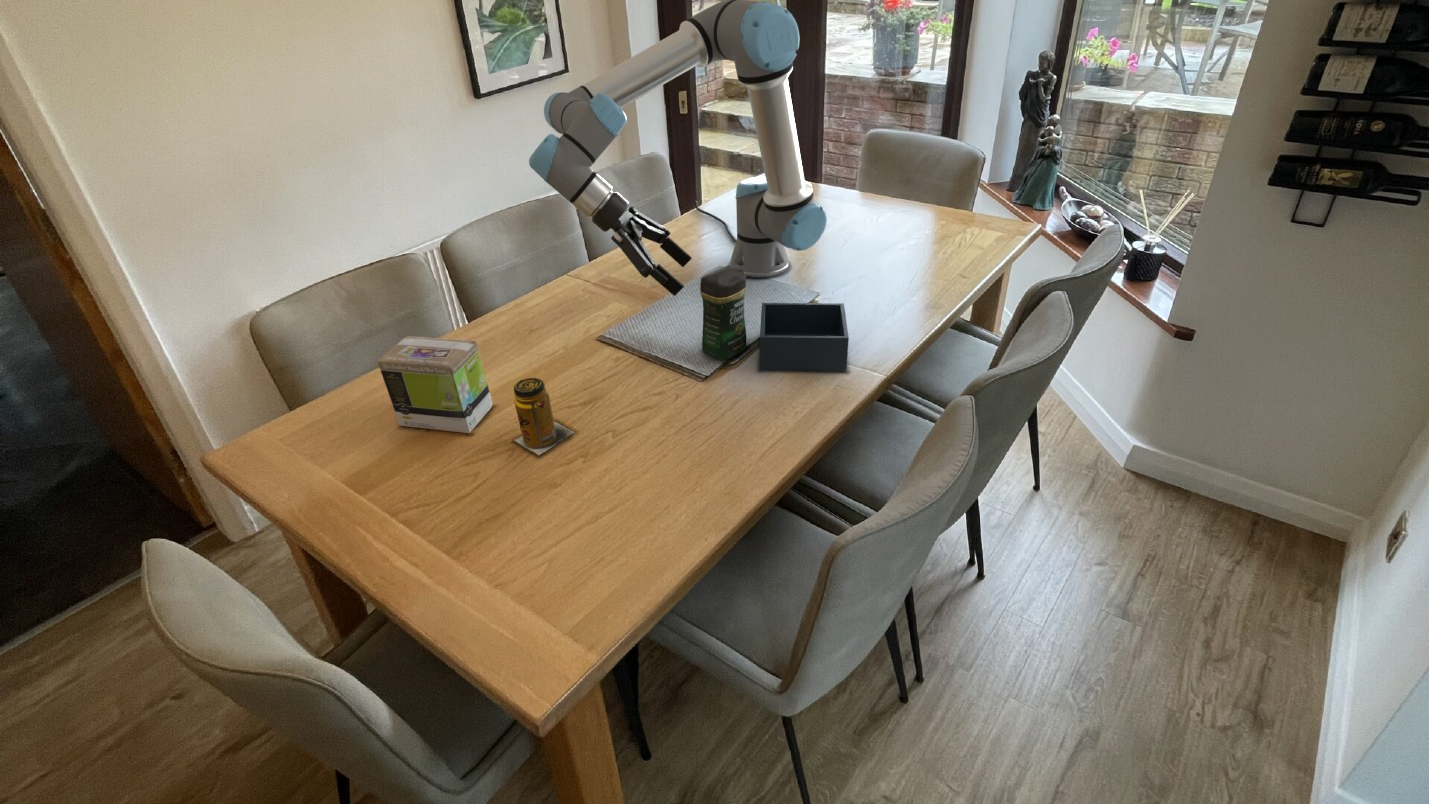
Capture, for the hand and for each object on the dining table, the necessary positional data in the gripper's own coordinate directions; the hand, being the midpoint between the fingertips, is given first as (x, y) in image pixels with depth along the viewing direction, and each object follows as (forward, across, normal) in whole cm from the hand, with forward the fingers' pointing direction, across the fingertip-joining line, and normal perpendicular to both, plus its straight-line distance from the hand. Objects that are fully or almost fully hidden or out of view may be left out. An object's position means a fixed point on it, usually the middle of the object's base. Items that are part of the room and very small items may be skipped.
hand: (683, 276), depth 148 cm
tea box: (-19, +26, -44) cm, 54 cm away
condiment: (-4, +32, -29) cm, 43 cm away
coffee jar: (+18, 0, -7) cm, 19 cm away
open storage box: (+30, 0, +5) cm, 30 cm away
